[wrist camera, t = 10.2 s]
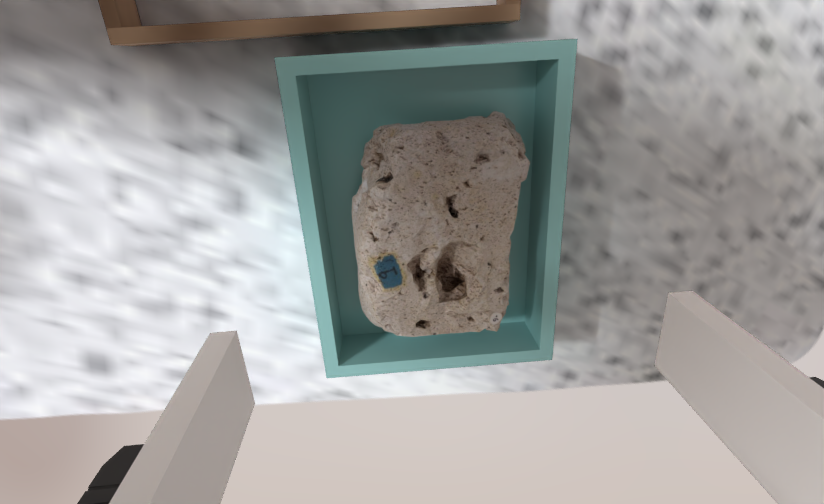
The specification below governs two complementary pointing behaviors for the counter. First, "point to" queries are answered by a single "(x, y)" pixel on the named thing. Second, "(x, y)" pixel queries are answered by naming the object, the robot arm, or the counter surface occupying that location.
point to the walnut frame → (294, 23)
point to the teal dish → (409, 104)
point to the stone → (438, 224)
